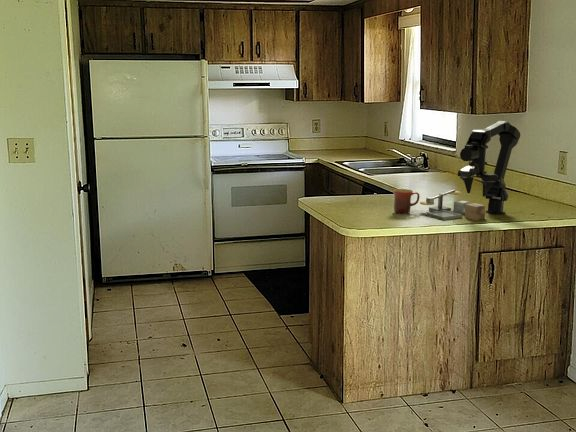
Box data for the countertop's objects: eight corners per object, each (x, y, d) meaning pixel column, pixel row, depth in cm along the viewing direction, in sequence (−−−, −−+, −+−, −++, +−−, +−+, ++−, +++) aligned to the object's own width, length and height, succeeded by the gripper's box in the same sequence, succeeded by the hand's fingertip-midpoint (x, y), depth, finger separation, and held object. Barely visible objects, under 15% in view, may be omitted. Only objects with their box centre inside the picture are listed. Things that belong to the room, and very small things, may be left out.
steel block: (459, 210, 325) (459, 200, 324) (468, 212, 322) (469, 201, 321) (453, 212, 322) (454, 201, 321) (463, 213, 318) (463, 203, 317)
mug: (394, 214, 314) (395, 192, 312) (390, 210, 323) (391, 188, 321) (420, 214, 315) (421, 192, 313) (416, 211, 323) (417, 189, 321)
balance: (453, 207, 332) (454, 188, 330) (462, 209, 327) (464, 190, 325) (416, 211, 321) (417, 191, 319) (425, 214, 316) (426, 194, 314)
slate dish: (444, 213, 319) (445, 210, 319) (462, 217, 310) (462, 214, 309) (426, 215, 314) (426, 212, 313) (443, 220, 304) (443, 217, 304)
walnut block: (474, 216, 313) (475, 203, 312) (484, 218, 308) (485, 205, 307) (464, 217, 310) (465, 204, 309) (474, 220, 305) (475, 206, 304)
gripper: (449, 157, 308) (447, 193, 311) (480, 163, 292) (478, 200, 295) (468, 156, 313) (466, 190, 317) (499, 161, 298) (497, 197, 301)
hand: (476, 194), depth 307 cm, fingers open, 9 cm apart
